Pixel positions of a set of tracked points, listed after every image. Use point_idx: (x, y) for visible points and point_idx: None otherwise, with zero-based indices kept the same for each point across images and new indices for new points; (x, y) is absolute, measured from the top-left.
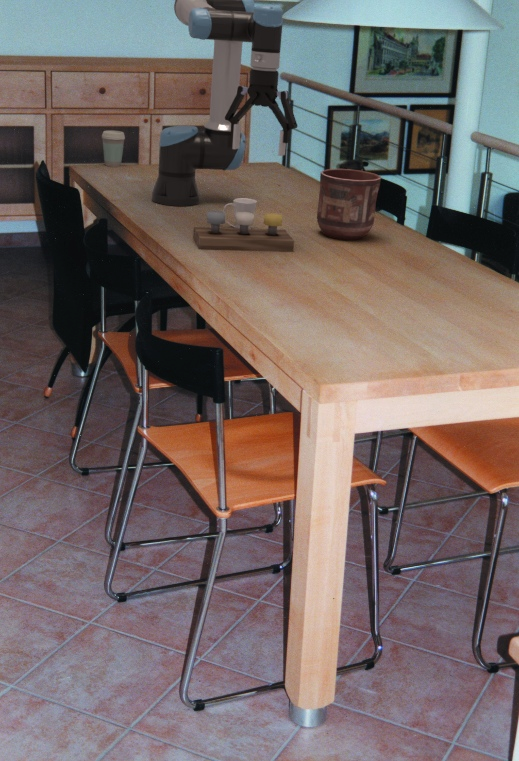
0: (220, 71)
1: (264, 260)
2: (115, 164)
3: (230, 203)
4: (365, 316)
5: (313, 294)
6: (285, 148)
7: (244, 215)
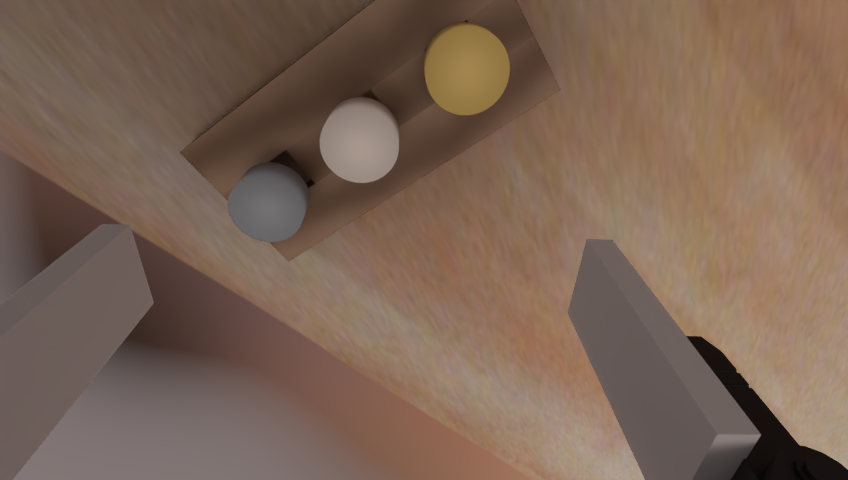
0: None
1: (496, 230)
2: None
3: None
4: None
5: None
6: (637, 273)
7: (369, 170)
